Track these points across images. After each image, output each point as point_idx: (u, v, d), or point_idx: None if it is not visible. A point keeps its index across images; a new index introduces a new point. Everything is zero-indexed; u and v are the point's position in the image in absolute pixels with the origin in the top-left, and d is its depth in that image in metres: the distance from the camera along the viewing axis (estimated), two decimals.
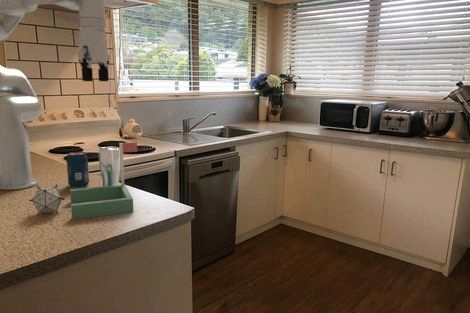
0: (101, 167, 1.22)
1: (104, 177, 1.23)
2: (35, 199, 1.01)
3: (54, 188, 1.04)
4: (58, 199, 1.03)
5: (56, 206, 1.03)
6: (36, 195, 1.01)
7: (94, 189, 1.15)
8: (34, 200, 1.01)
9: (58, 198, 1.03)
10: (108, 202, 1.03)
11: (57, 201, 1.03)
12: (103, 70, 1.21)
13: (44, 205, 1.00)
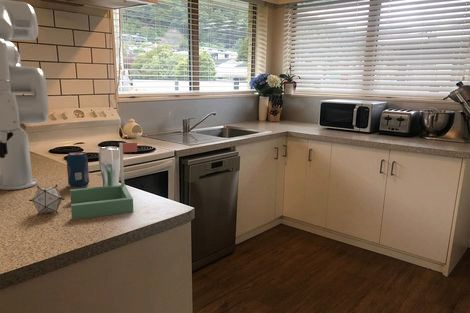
0: (101, 167, 1.22)
1: (104, 177, 1.23)
2: (35, 199, 1.01)
3: (54, 188, 1.04)
4: (58, 199, 1.03)
5: (56, 206, 1.03)
6: (36, 195, 1.01)
7: (94, 189, 1.15)
8: (34, 200, 1.01)
9: (58, 198, 1.03)
10: (108, 202, 1.03)
11: (57, 201, 1.03)
12: None
13: (44, 205, 1.00)
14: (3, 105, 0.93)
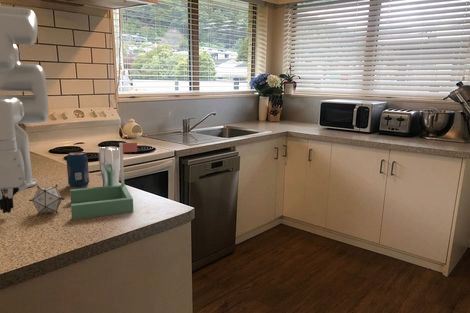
0: (101, 167, 1.22)
1: (104, 177, 1.23)
2: (35, 199, 1.01)
3: (54, 188, 1.04)
4: (58, 199, 1.03)
5: (56, 206, 1.03)
6: (36, 195, 1.01)
7: (94, 189, 1.15)
8: (34, 200, 1.01)
9: (58, 198, 1.03)
10: (108, 202, 1.03)
11: (57, 201, 1.03)
12: None
13: (44, 205, 1.00)
14: (9, 163, 0.96)
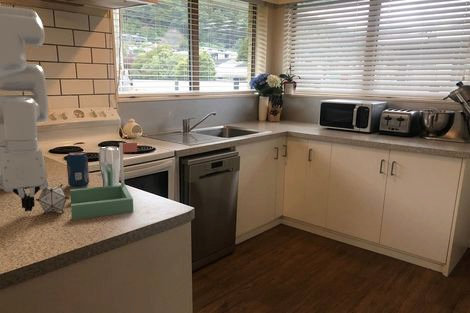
0: (101, 167, 1.22)
1: (104, 177, 1.23)
2: (41, 198, 1.01)
3: (59, 187, 1.05)
4: (64, 198, 1.03)
5: (62, 205, 1.04)
6: (42, 194, 1.02)
7: (94, 189, 1.15)
8: (40, 199, 1.01)
9: (64, 197, 1.03)
10: (108, 202, 1.03)
11: (63, 200, 1.03)
12: (27, 197, 1.02)
13: (50, 204, 1.01)
14: (31, 163, 0.98)
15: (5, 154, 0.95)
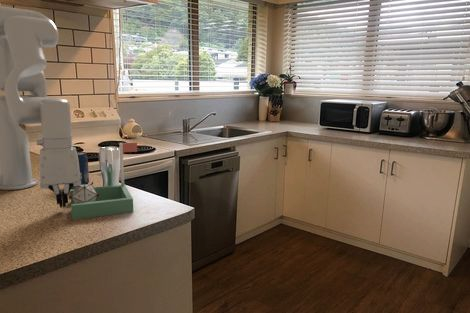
0: (101, 167, 1.22)
1: (104, 177, 1.23)
2: (74, 195, 1.04)
3: (91, 185, 1.08)
4: (96, 195, 1.07)
5: None
6: (75, 192, 1.05)
7: None
8: (73, 196, 1.04)
9: (96, 195, 1.06)
10: (108, 202, 1.03)
11: (95, 197, 1.06)
12: None
13: (83, 201, 1.04)
14: (67, 160, 1.01)
15: (42, 152, 0.99)
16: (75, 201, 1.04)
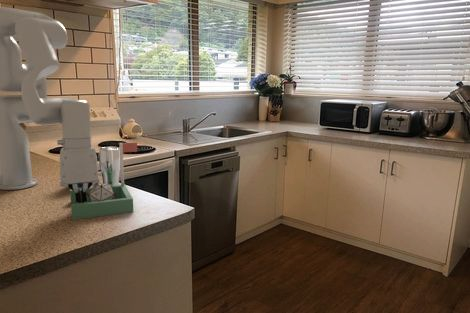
0: (101, 167, 1.22)
1: (104, 177, 1.23)
2: (92, 193, 1.05)
3: (109, 185, 1.09)
4: (112, 195, 1.07)
5: None
6: (93, 190, 1.06)
7: None
8: (90, 194, 1.05)
9: (112, 194, 1.07)
10: (108, 202, 1.03)
11: (111, 197, 1.07)
12: None
13: (99, 199, 1.05)
14: (86, 160, 1.04)
15: (63, 151, 1.01)
16: (92, 199, 1.06)
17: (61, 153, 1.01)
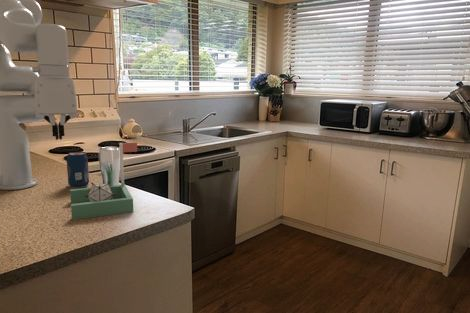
0: (101, 167, 1.22)
1: (104, 177, 1.23)
2: (90, 195, 1.05)
3: (107, 185, 1.09)
4: (111, 195, 1.07)
5: None
6: (91, 191, 1.06)
7: None
8: (89, 196, 1.05)
9: (111, 195, 1.07)
10: (108, 202, 1.03)
11: (110, 197, 1.07)
12: None
13: None
14: (63, 89, 0.99)
15: (38, 78, 0.96)
16: (91, 201, 1.06)
17: (36, 80, 0.96)
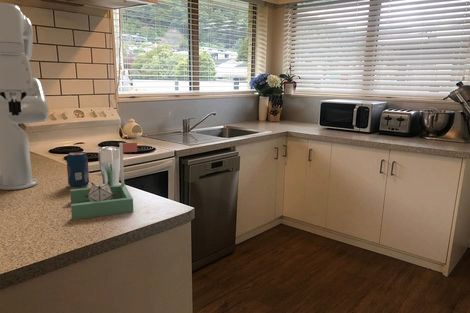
0: (101, 167, 1.22)
1: (104, 177, 1.23)
2: (90, 195, 1.05)
3: (107, 185, 1.09)
4: (111, 195, 1.07)
5: None
6: (91, 191, 1.06)
7: None
8: (89, 196, 1.05)
9: (111, 194, 1.07)
10: (108, 202, 1.03)
11: (110, 197, 1.07)
12: None
13: None
14: (18, 66, 1.03)
15: None
16: (91, 201, 1.06)
17: None
